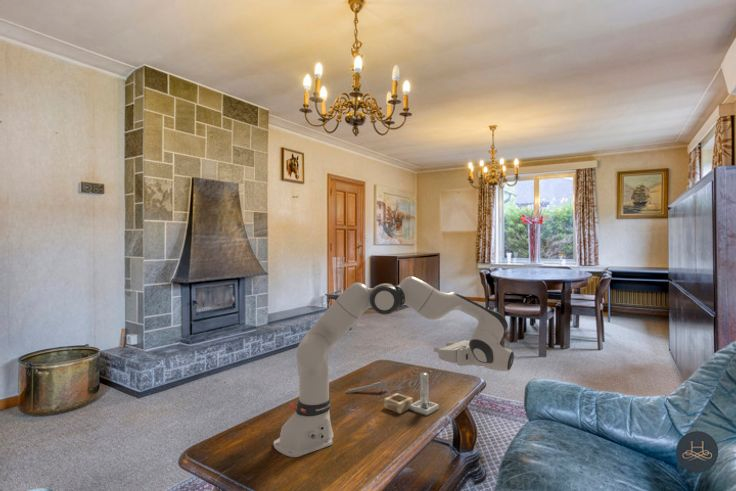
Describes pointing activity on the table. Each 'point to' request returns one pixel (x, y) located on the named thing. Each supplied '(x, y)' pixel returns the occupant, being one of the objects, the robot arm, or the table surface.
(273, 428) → the table surface
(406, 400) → the bore block
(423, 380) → the grey rounded cylinder
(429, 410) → the tray
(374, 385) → the caliper
